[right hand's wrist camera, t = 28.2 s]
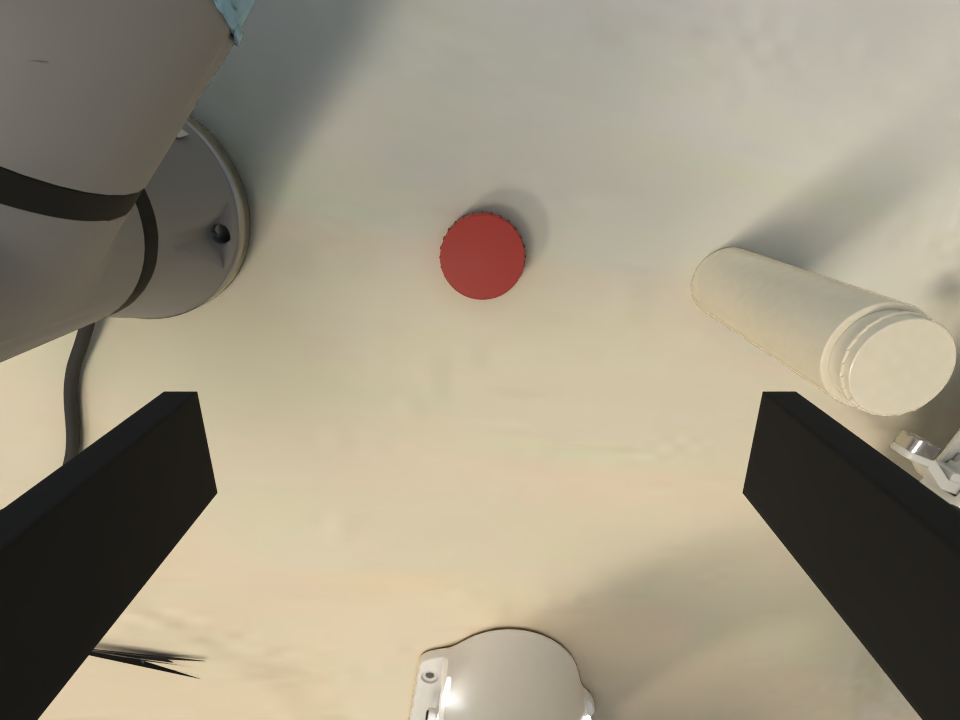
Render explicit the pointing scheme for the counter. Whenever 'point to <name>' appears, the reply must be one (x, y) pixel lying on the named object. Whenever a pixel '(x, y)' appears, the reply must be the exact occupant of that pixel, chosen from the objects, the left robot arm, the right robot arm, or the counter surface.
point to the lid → (482, 256)
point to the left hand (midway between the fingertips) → (947, 381)
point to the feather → (138, 659)
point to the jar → (829, 331)
